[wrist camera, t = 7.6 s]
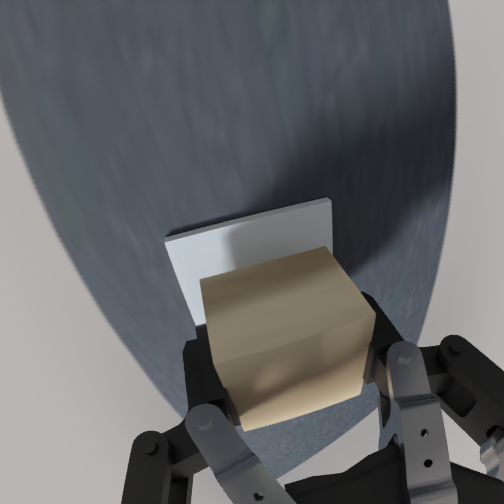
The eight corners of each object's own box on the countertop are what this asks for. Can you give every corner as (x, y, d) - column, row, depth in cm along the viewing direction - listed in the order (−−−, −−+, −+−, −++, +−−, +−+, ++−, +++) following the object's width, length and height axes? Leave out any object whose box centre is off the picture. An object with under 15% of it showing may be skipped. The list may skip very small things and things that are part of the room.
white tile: (164, 237, 13) (164, 242, 12) (327, 197, 13) (331, 201, 13) (206, 347, 17) (207, 352, 16) (329, 312, 17) (332, 317, 17)
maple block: (199, 279, 12) (213, 363, 9) (325, 246, 12) (375, 314, 9) (226, 358, 15) (244, 431, 11) (325, 330, 15) (360, 394, 12)
